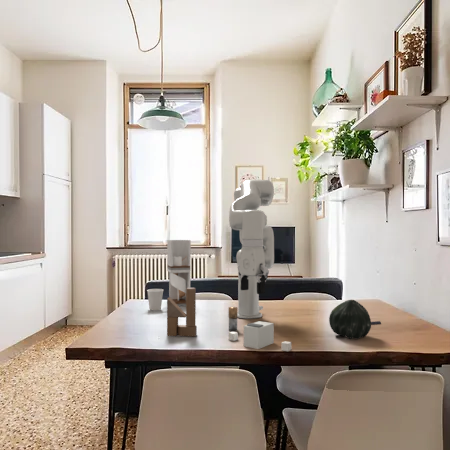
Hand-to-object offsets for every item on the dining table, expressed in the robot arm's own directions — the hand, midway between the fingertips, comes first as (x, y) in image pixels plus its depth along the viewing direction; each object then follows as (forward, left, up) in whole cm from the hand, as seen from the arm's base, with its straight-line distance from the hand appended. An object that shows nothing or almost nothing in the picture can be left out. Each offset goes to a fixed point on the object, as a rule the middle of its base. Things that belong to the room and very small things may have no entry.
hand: (252, 291), depth 151 cm
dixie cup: (-21, -74, -18) cm, 79 cm away
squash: (-28, +25, -18) cm, 42 cm away
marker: (+3, +15, -18) cm, 24 cm away
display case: (-40, -76, -18) cm, 88 cm away
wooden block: (+10, -26, -18) cm, 33 cm away
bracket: (-56, +17, -19) cm, 62 cm away
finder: (+2, +4, -18) cm, 19 cm away
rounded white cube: (+3, -7, -18) cm, 19 cm away
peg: (-9, -16, -18) cm, 25 cm away
